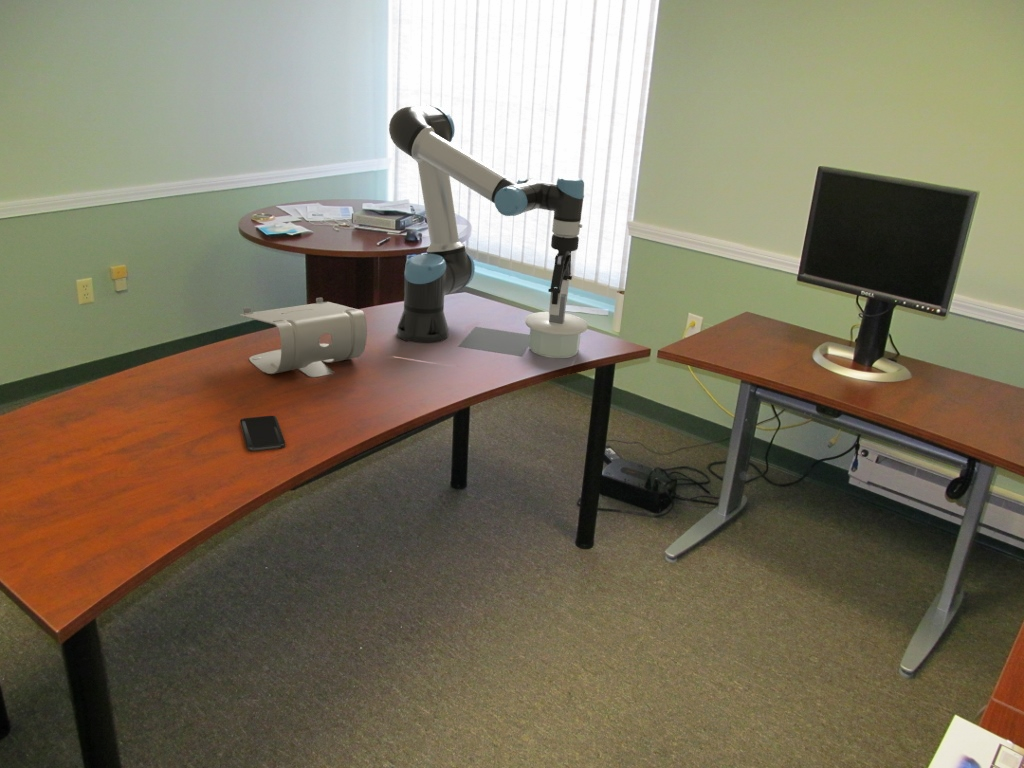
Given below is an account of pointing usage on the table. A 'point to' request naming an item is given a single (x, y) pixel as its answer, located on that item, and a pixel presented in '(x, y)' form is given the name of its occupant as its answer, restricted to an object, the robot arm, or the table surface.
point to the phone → (262, 433)
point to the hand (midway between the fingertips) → (558, 307)
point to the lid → (557, 321)
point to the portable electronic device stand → (311, 337)
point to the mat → (496, 341)
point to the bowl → (554, 344)
